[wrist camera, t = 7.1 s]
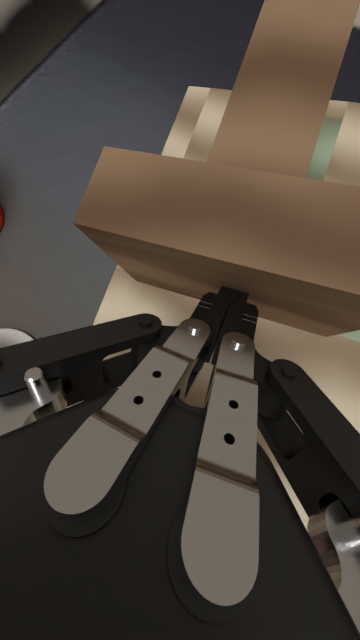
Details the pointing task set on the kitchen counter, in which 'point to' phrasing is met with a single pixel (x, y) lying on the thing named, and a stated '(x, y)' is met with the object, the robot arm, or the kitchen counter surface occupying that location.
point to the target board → (270, 337)
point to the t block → (248, 187)
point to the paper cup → (1, 218)
